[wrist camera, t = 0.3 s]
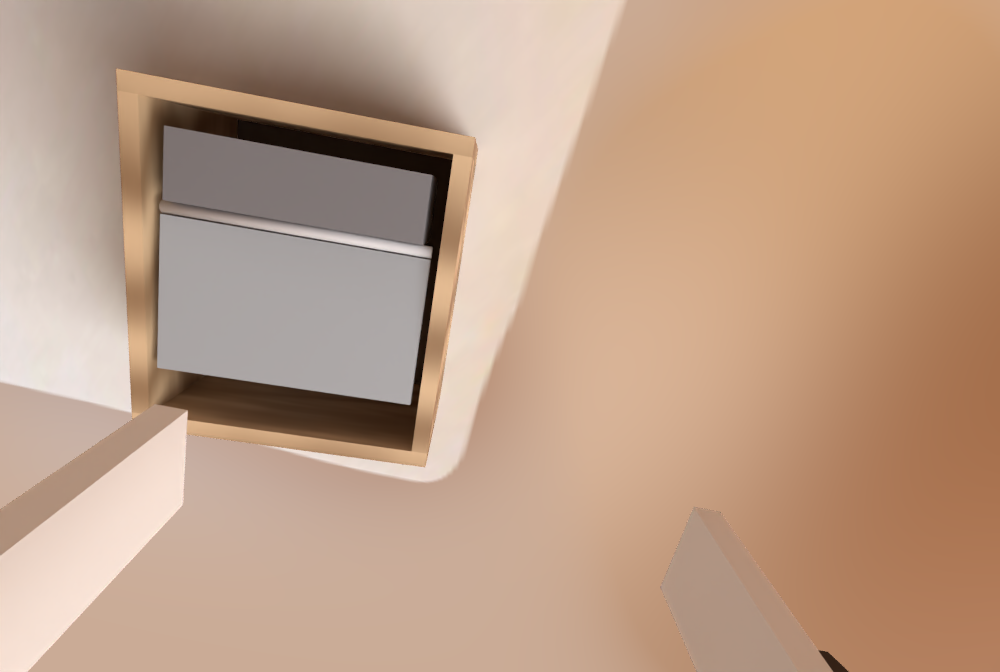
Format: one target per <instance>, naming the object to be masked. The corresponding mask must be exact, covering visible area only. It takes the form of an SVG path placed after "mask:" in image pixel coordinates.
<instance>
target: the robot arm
mask: <svg viewBox="0 0 1000 672" xmlns="http://www.w3.org/2000/svg"><path fill="white" fill-rule="evenodd" d="M187 417H188V410H184V409H178V408H173V407H168V406H163V405H157V404H154V405H153V406H151V407H150V408H148V409H147V410H146V411H144V412H143V413H141V414H140V415H138V416H137V417H135V418H134V419H132V420H131V421H129V422H128V423H126V424H125V425H123V426H122V427H121V428H119V429H118V430H116V431H115V432H113V433H112V434H110V435H109V436H108V437H106V438H104V439H103V440H101V441H100V442H98V443H97V444H96V445H94V446H93V447H91V448H90V449H88V450H87V451H85V452H84V453H82V454H81V455H79V456H78V457H76V458H75V459H74V460H72V461H71V462H69V463H68V464H66V465H65V466H63V467H62V468H60V469H59V470H57V471H56V472H54V473H53V474H52V475H50V476H49V477H47V478H46V479H44V480H43V481H41V482H40V483H38V484H37V485H35V486H34V487H32V488H31V489H29V490H28V491H26V492H25V493H23V494H22V495H21V496H19V497H18V498H16V499H15V500H13V501H12V502H10V503H9V504H7V505H6V506H4V507H3V508H1V509H0V672H28V671H29V669H30V668H31V667H32V666H33V665H34V664H35V663H36V662H37V661H38V660H39V659H40V657H41V656H42V655H43V654H44V653H45V652H46V651H47V650H48V649H49V648H50V647H51V646H52V645H53V644H54V643H55V641H56V640H57V639H58V638H59V637H60V636H61V635H62V634H63V633H64V632H65V631H66V630H67V629H68V627H69V626H70V625H71V624H72V623H73V622H74V621H75V620H76V619H77V618H78V617H79V616H80V615H81V614H82V612H83V611H84V610H85V609H86V608H87V607H88V606H89V605H90V604H91V603H92V602H93V601H94V599H95V598H96V597H97V596H98V595H99V594H100V593H101V592H102V591H103V590H104V589H105V588H106V587H107V586H108V585H109V583H110V582H111V581H112V580H113V579H114V578H115V577H116V576H117V575H118V574H119V573H120V572H121V570H122V569H123V568H124V567H125V566H126V565H127V564H128V563H129V562H130V561H131V560H132V559H133V558H134V557H135V555H136V554H137V553H138V552H139V551H140V550H141V549H142V548H143V547H144V546H145V545H146V544H147V543H148V541H149V540H150V539H151V538H152V537H153V536H154V535H155V534H156V533H157V532H158V531H159V530H160V529H161V528H162V526H163V525H164V524H165V523H166V522H167V521H168V520H169V519H170V518H171V517H172V516H173V515H174V514H175V513H176V511H177V510H178V509H179V508H180V507H181V506H182V505H183V492H184V472H185V453H186V435H187ZM661 590H662V592H663V594H664V597H665V599H666V601H667V604H668V606H669V608H670V611H671V613H672V615H673V618H674V620H675V622H676V625H677V627H678V629H679V632H680V634H681V637H682V639H683V641H684V643H685V646H686V648H687V650H688V653H689V655H690V658H691V660H692V662H693V665H694V666H695V669H696V672H848V671H847V670H846V669H845V668H844V667H843V666H842V665H841V664H840V663H839V662H838V661H837V660H836V659H835V658H834V657H833V656H832V655H830V654H829V653H828V652H825V651H819V650H817V648H816V647H815V645H814V644H813V643H812V641H811V640H810V638H809V637H808V636H807V634H806V633H805V631H804V630H803V628H802V627H801V625H800V624H799V623H798V621H797V620H796V619H795V617H794V616H793V614H792V613H791V611H790V610H789V609H788V607H787V606H786V604H785V603H784V601H783V600H782V599H781V597H780V596H779V594H778V593H777V592H776V590H775V589H774V587H773V586H772V584H771V583H770V582H769V580H768V579H767V577H766V576H765V574H764V573H763V572H762V570H761V569H760V567H759V566H758V565H757V563H756V562H755V560H754V559H753V558H752V556H751V555H750V553H749V552H748V550H747V549H746V548H745V546H744V545H743V543H742V542H741V540H740V539H739V538H738V536H737V535H736V533H735V532H734V531H733V529H732V528H731V526H730V525H729V523H728V522H727V521H726V519H725V518H724V517H723V515H722V514H721V512H718V511H713V510H708V509H703V508H697V507H694V508H693V510H692V513H691V515H690V517H689V520H688V522H687V525H686V527H685V530H684V532H683V534H682V537H681V539H680V541H679V544H678V546H677V548H676V551H675V553H674V556H673V558H672V560H671V563H670V565H669V568H668V570H667V573H666V575H665V577H664V580H663V582H662V585H661Z"/></svg>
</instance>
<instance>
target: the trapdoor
mask: <svg viewBox="0 0 1000 672" xmlns="http://www.w3.org/2000/svg"><path fill="white" fill-rule="evenodd" d="M437 183H438V180H437V179H436V178H435V177H434V176H433V175H429V174H424V173H419V172H413V171H408V170H402V169H397V168H392V167H386V166H381V165H375V164H370V163H365V162H359V161H354V160H348V159H343V158H338V157H332V156H327V155H321V154H316V153H311V152H305V151H300V150H294V149H289V148H284V147H278V146H273V145H267V144H262V143H257V142H251V141H246V140H240V139H235V138H230V137H224V136H219V135H213V134H208V133H203V132H197V131H192V130H186V129H181V128H176V127H170V126H165V125H164V146H163V196H162V200H161V201H160V204H159V209H160V211H161V212H162V213H167V214H160V244H159V297H158V350H157V368H162V369H169V370H176V371H182V372H189V373H196V374H203V375H210V376H216V377H223V378H230V379H237V380H244V381H250V382H257V383H264V384H271V385H277V386H284V387H291V388H298V389H305V390H311V391H318V392H325V393H332V394H339V395H345V396H352V397H359V398H366V399H372V400H379V401H386V402H393V403H400V404H406V405H410V404H411V399H412V392H413V385H414V378H415V371H416V364H417V357H418V350H419V343H420V336H421V329H422V322H423V315H424V308H425V300H426V293H427V286H428V279H429V272H430V265H431V258H432V252H433V247H432V246H426V245H424V244H426V243H428V242H429V240H430V233H431V226H432V219H433V212H434V204H435V197H436V190H437ZM170 214H173V215H170ZM176 215H179V216H176ZM182 216H185V217H182ZM188 217H190V218H188ZM194 218H196V219H194ZM199 219H202V220H199ZM205 220H208V221H205ZM211 221H214V222H211ZM217 222H220V223H217ZM223 223H225V224H223ZM229 224H231V225H229ZM234 225H237V226H234ZM240 226H243V227H240ZM246 227H249V228H246ZM252 228H255V229H252ZM258 229H260V230H258ZM264 230H266V231H264ZM269 231H272V232H269ZM275 232H278V233H275ZM281 233H284V234H281ZM287 234H289V235H287ZM293 235H295V236H293ZM299 236H301V237H299ZM304 237H307V238H304ZM310 238H313V239H310ZM316 239H319V240H316ZM322 240H324V241H322ZM328 241H330V242H328ZM334 242H336V243H334ZM339 243H342V244H339ZM345 244H348V245H345ZM351 245H354V246H351ZM357 246H359V247H357ZM363 247H365V248H363ZM369 248H371V249H369ZM374 249H377V250H374ZM380 250H383V251H380ZM386 251H389V252H386ZM392 252H394V253H392ZM398 253H400V254H398ZM403 254H406V255H403ZM409 255H412V256H409ZM415 256H418V257H415ZM421 257H424V258H421ZM427 258H429V259H427Z"/></svg>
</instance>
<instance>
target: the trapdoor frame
mask: <svg viewBox="0 0 1000 672" xmlns="http://www.w3.org/2000/svg"><path fill="white" fill-rule="evenodd" d="M116 80H117V101H118V123H119V145H120V166H121V188H122V210H123V231H124V253H125V275H126V296H127V318H128V340H129V361H130V383H131V405H132V419H134V418H135V417H137V416H138V415H140V414H141V413H143V412H144V411H146V410H147V409H148V408H150V407H151V406H153V405H154V404H157V405H163V406H168V407H173V408H178V409H184V410H188V417H187V434H188V435H195V436H202V437H210V438H217V439H224V440H231V441H239V442H246V443H253V444H260V445H267V446H275V447H282V448H289V449H296V450H304V451H311V452H318V453H326V454H333V455H340V456H347V457H355V458H362V459H369V460H376V461H384V462H391V463H398V464H405V465H413V466H420V467H425V466H426V461H427V456H428V452H429V447H430V442H431V437H432V433H433V428H434V423H435V418H436V413H437V409H438V404H439V399H440V393H441V386H442V380H443V373H444V367H445V360H446V354H447V347H448V341H449V334H450V328H451V321H452V315H453V308H454V302H455V295H456V289H457V282H458V276H459V270H460V263H461V257H462V250H463V244H464V237H465V231H466V224H467V218H468V211H469V205H470V198H471V192H472V185H473V179H474V172H475V166H476V159H477V153H478V148H477V144H476V139H475V137H470V136H465V135H459V134H454V133H449V132H444V131H439V130H433V129H428V128H423V127H418V126H413V125H407V124H402V123H397V122H392V121H387V120H381V119H376V118H371V117H366V116H361V115H356V114H350V113H345V112H340V111H335V110H330V109H324V108H319V107H314V106H309V105H304V104H298V103H293V102H288V101H283V100H278V99H272V98H267V97H262V96H257V95H252V94H246V93H241V92H236V91H231V90H226V89H220V88H215V87H210V86H205V85H200V84H195V83H189V82H184V81H179V80H174V79H169V78H163V77H158V76H153V75H148V74H143V73H137V72H132V71H127V70H122V69H117V68H116ZM238 120H243V121H248V122H254V123H259V124H264V125H270V126H275V127H280V128H286V129H291V130H296V131H302V132H307V133H312V134H318V135H323V136H328V137H333V138H339V139H344V140H349V141H355V142H360V143H365V144H371V145H376V146H381V147H387V148H392V149H397V150H403V151H408V152H413V153H418V154H424V155H429V156H434V157H440V158H445V159H450V160H453V161H452V168H451V175H450V182H449V189H448V196H447V203H446V210H445V217H444V225H443V232H442V239H441V246H440V253H439V260H438V267H437V274H436V281H435V289H434V296H433V303H432V310H431V317H430V324H429V331H428V338H427V345H426V353H425V360H424V367H423V374H422V381H421V385H419V384H414V385H413V392H412V399H411V404H410V405H406V404H400V403H393V402H386V401H379V400H372V399H366V398H359V397H352V396H345V395H339V394H332V393H325V392H318V391H311V390H305V389H298V388H291V387H284V386H277V385H271V384H264V383H257V382H250V381H244V380H237V379H230V378H223V377H216V376H210V375H203V374H196V373H189V372H182V371H176V370H169V369H162V368H157V350H158V297H159V244H160V214H167V213H162V212H161V211H160V209H159V204H160V201H161V200H162V196H163V146H164V125H165V126H170V127H176V128H181V129H186V130H192V131H197V132H203V133H208V134H213V135H219V136H224V137H230V138H235V139H237V135H238ZM170 215H173V214H170ZM176 216H179V215H176ZM182 217H185V216H182ZM188 218H190V217H188ZM194 219H196V218H194ZM199 220H202V219H199ZM205 221H208V220H205ZM211 222H214V221H211ZM217 223H220V222H217ZM223 224H225V223H223ZM229 225H231V224H229ZM234 226H236V225H234Z"/></svg>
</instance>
